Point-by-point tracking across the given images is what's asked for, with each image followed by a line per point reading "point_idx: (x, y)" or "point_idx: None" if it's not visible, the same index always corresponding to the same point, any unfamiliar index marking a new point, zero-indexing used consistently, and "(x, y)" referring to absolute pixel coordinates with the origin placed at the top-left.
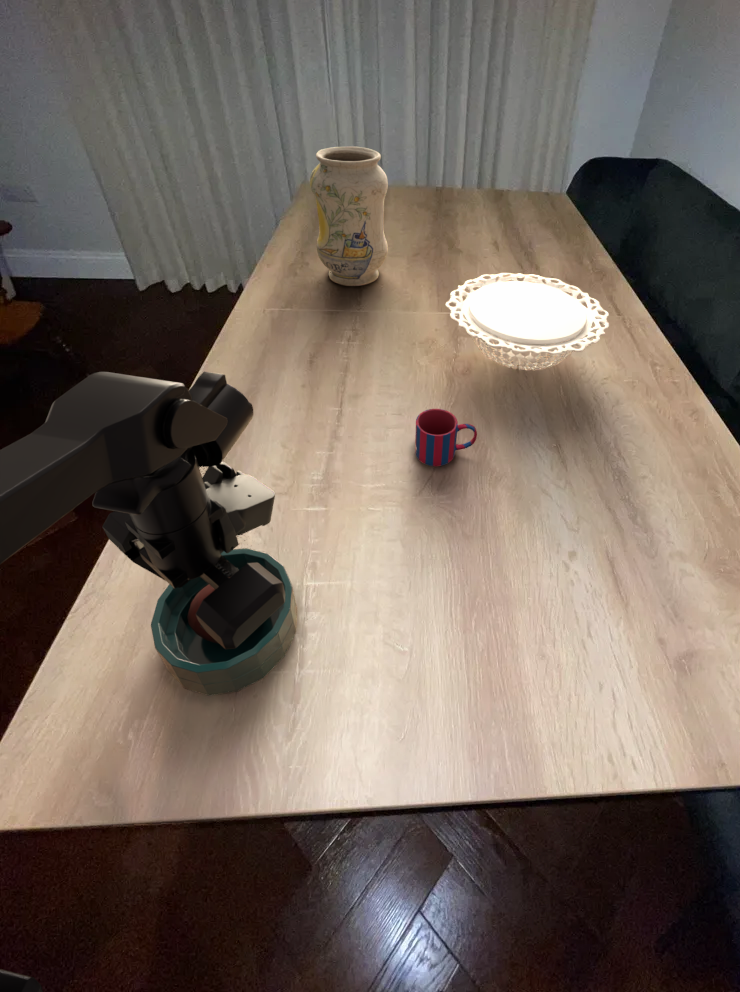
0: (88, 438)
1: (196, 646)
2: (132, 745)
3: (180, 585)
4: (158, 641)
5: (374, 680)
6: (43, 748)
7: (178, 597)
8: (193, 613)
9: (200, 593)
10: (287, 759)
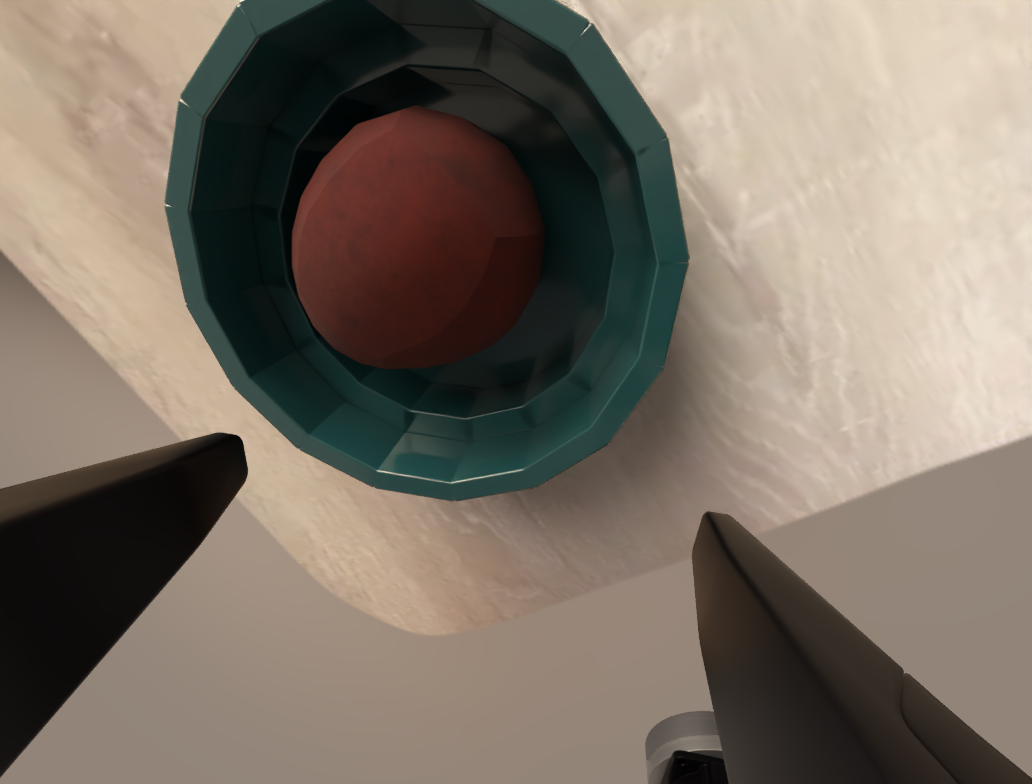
0: None
1: None
2: (491, 527)
3: (236, 479)
4: (363, 473)
5: (1020, 114)
6: (371, 580)
7: (264, 314)
8: (357, 357)
9: (308, 302)
10: (826, 421)
